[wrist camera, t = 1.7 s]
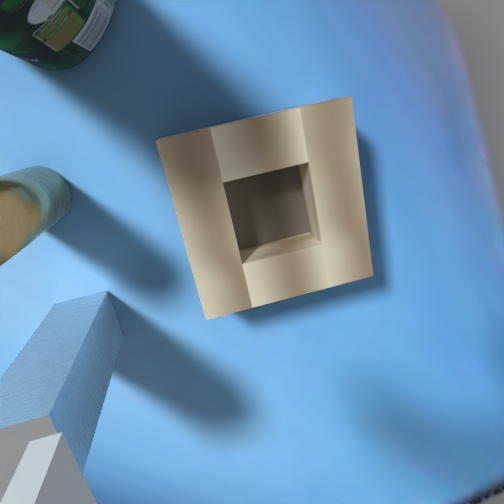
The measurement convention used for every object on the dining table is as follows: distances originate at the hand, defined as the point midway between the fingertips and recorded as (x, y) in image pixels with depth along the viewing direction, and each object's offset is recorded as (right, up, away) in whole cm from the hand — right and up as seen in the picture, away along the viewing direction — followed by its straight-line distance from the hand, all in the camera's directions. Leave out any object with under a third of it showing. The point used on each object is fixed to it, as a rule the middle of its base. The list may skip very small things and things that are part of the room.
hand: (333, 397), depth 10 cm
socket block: (-1, +8, +20) cm, 22 cm away
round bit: (-17, +8, +18) cm, 26 cm away
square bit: (-15, -2, +21) cm, 26 cm away
